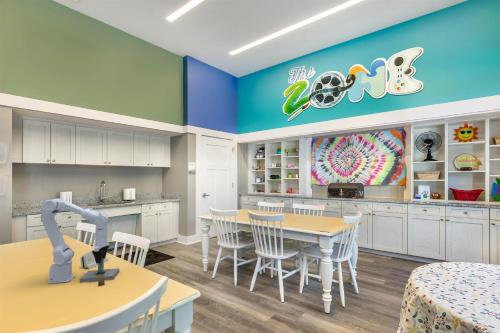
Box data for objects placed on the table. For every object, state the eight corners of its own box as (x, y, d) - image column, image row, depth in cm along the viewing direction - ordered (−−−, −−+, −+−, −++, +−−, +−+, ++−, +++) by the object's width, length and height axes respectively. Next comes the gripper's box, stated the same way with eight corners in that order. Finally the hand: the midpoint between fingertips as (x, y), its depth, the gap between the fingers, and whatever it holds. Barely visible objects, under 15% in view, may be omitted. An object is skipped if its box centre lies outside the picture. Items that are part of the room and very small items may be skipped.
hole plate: (79, 282, 134) (79, 278, 134) (88, 274, 146) (88, 270, 146) (113, 279, 138) (113, 275, 138) (119, 271, 149) (119, 268, 149)
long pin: (97, 278, 140) (97, 259, 140) (98, 276, 143) (98, 258, 143) (102, 277, 141) (103, 259, 141) (104, 275, 143) (104, 257, 144)
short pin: (97, 286, 129) (97, 277, 129) (99, 284, 132) (99, 275, 132) (103, 285, 130) (103, 276, 130) (105, 283, 133) (105, 274, 133)
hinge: (88, 269, 153) (84, 253, 154) (82, 271, 154) (77, 255, 155) (109, 260, 170) (104, 246, 171) (103, 262, 171) (99, 248, 172)
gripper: (105, 238, 136) (104, 264, 136) (112, 233, 151) (112, 256, 150) (90, 239, 135) (89, 265, 134) (99, 233, 149) (99, 257, 148)
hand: (100, 261), depth 142 cm, fingers open, 7 cm apart
